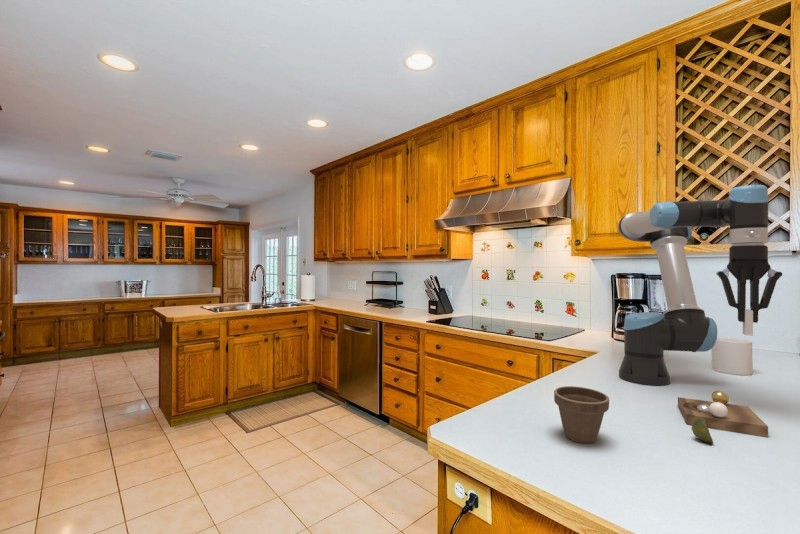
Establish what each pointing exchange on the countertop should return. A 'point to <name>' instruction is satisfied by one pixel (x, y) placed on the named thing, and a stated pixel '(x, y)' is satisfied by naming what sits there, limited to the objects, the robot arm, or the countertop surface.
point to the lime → (701, 430)
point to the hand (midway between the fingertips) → (747, 334)
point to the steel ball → (703, 407)
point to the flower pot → (581, 412)
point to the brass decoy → (720, 397)
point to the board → (734, 421)
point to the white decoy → (718, 409)
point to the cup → (732, 356)
